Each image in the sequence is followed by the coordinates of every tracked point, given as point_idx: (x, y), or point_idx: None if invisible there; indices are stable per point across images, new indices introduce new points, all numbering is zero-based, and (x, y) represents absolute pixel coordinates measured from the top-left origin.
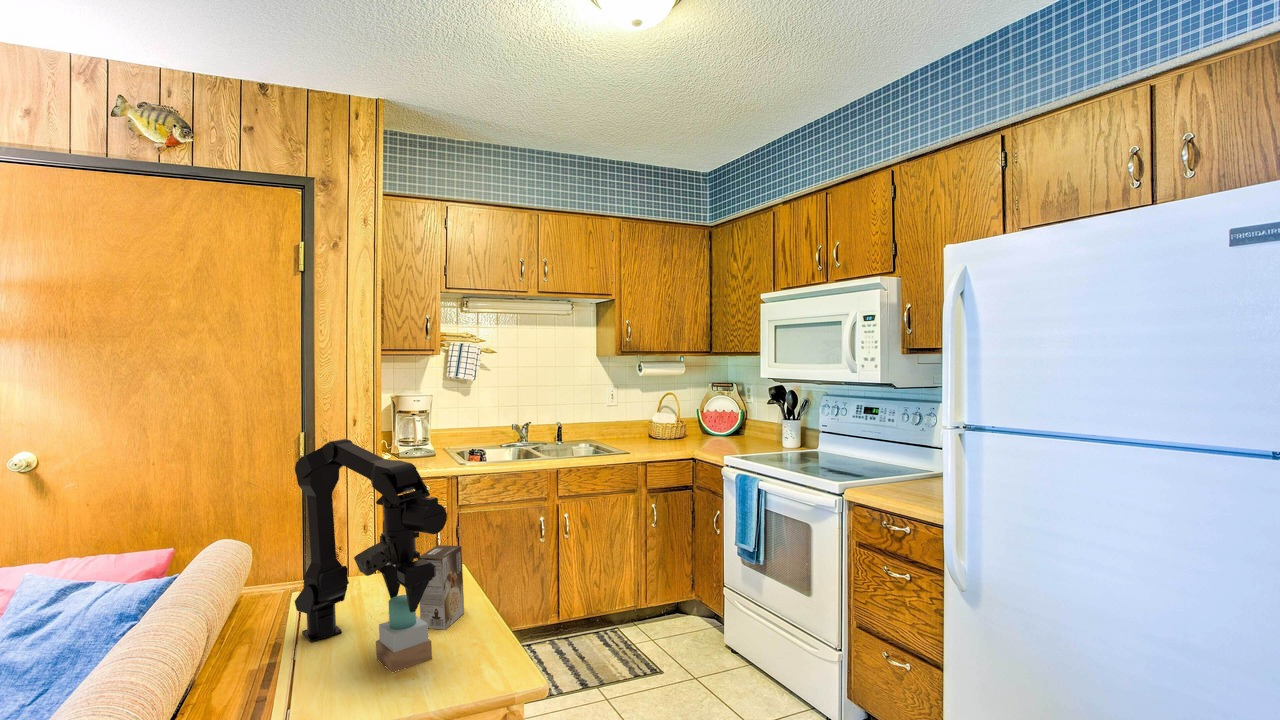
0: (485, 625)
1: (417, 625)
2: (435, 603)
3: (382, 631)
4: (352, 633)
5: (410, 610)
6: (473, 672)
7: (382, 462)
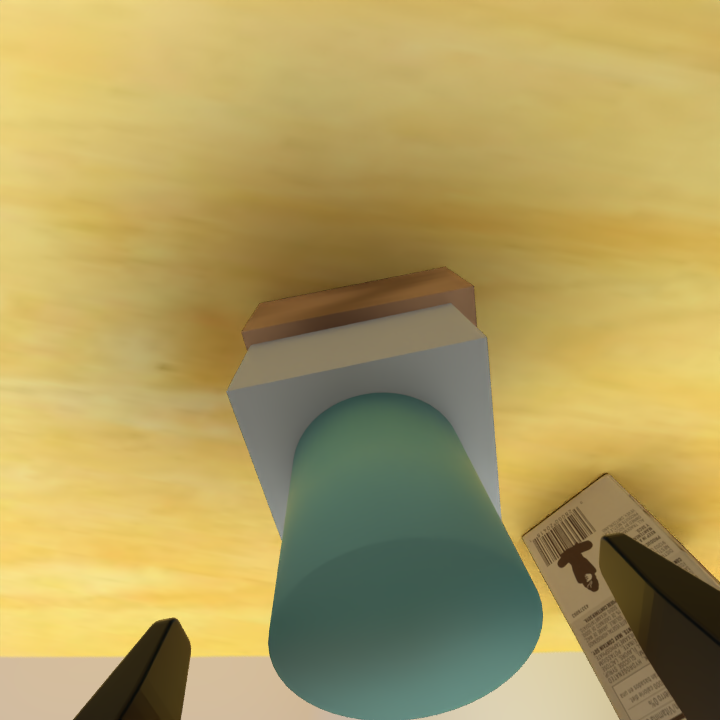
0: None
1: None
2: (613, 613)
3: (417, 338)
4: None
5: (139, 641)
6: (120, 544)
7: None
